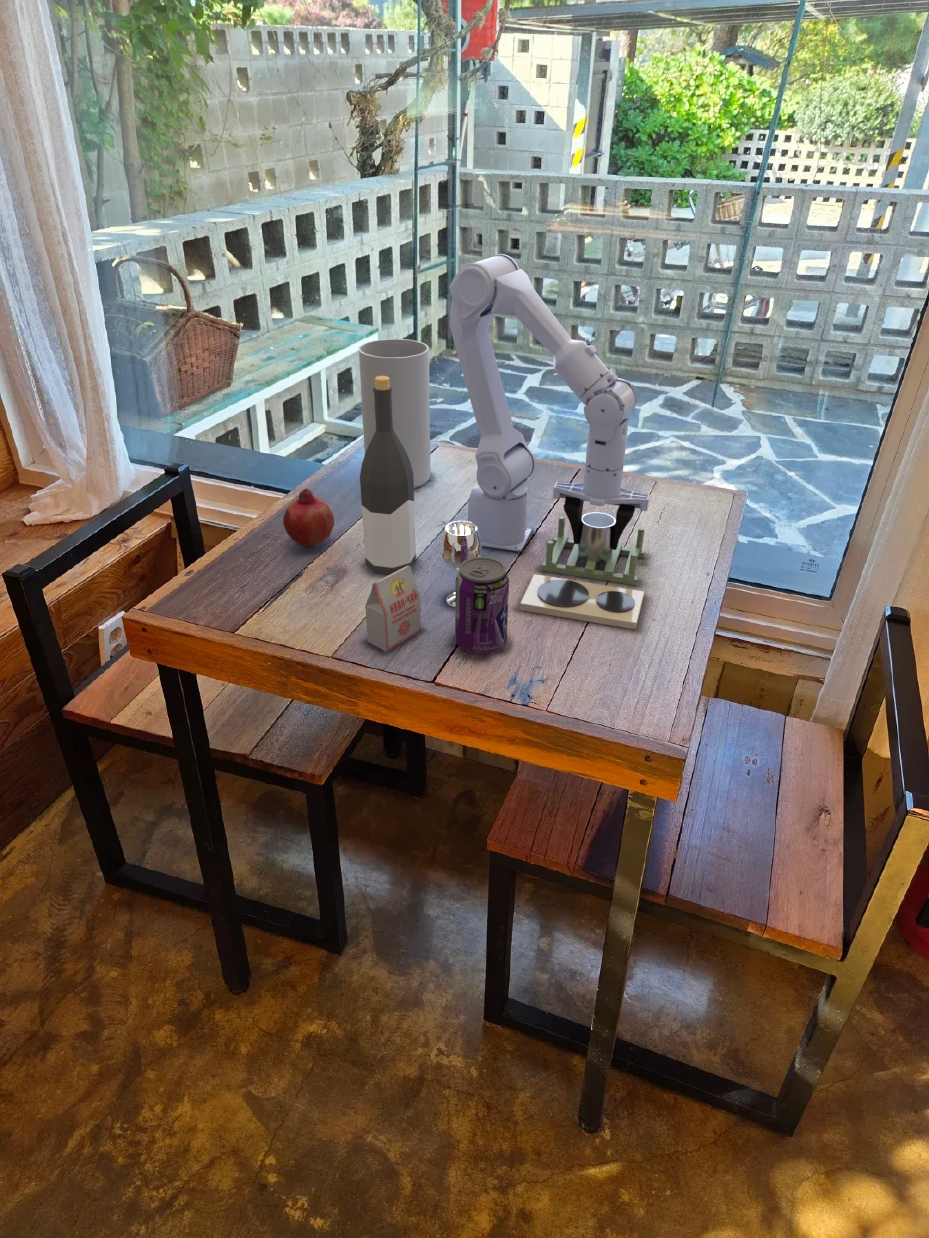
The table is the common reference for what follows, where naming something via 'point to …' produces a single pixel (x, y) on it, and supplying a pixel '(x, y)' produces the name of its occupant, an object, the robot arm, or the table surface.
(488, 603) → the beverage can
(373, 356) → the cylinder vase
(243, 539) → the table surface
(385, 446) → the wine bottle
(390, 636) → the tea bag
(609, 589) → the hob
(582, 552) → the pot
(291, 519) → the fruit
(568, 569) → the rack
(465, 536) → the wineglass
